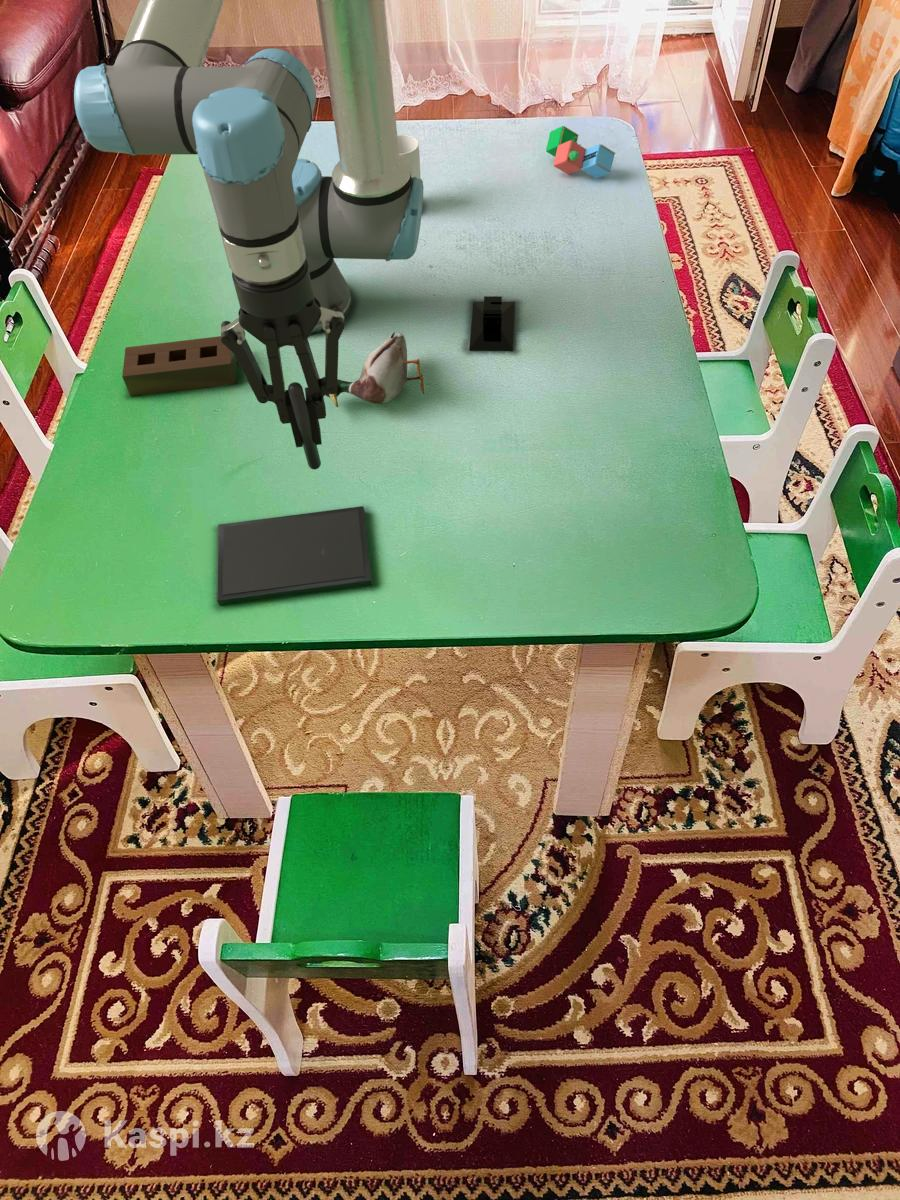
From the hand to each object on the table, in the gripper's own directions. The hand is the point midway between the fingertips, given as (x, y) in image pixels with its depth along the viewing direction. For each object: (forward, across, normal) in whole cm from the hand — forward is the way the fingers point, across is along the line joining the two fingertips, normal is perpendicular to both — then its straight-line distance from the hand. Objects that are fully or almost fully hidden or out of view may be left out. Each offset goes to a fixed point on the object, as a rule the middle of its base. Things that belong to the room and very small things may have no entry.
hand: (308, 437), depth 109 cm
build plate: (+20, +29, +40) cm, 54 cm away
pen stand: (+19, -21, +38) cm, 47 cm away
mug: (+20, +17, +78) cm, 82 cm away
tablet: (+19, -5, -2) cm, 20 cm away
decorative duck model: (+20, +9, +30) cm, 37 cm away
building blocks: (+20, +53, +84) cm, 102 cm away
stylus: (+5, 0, 0) cm, 5 cm away
